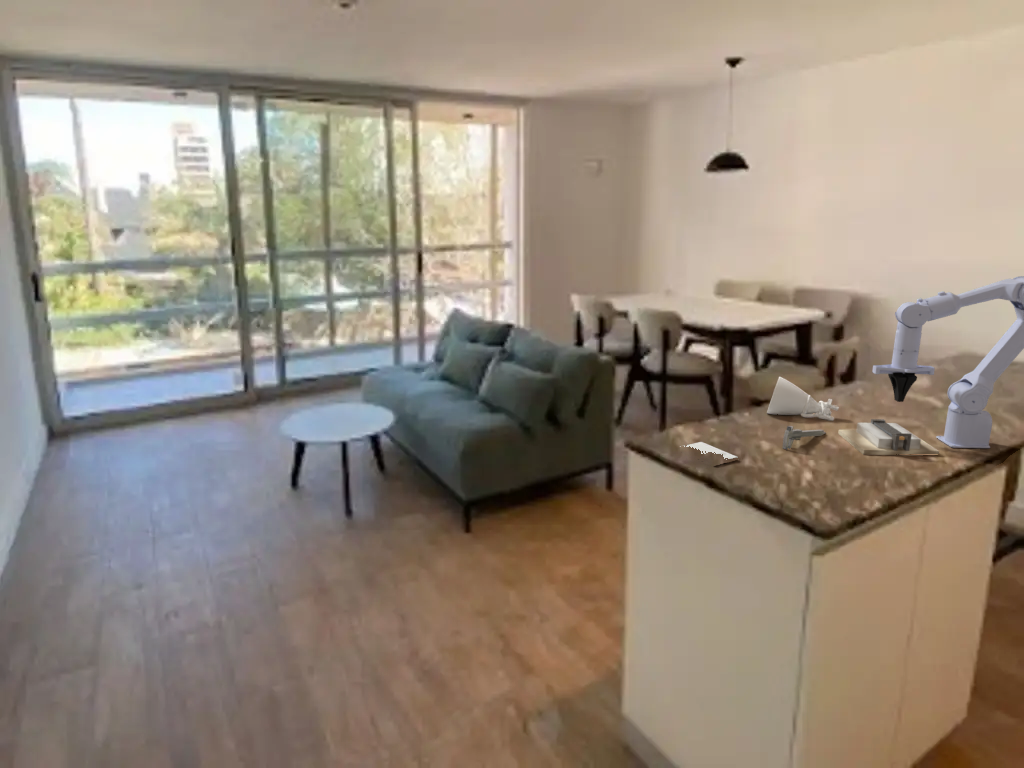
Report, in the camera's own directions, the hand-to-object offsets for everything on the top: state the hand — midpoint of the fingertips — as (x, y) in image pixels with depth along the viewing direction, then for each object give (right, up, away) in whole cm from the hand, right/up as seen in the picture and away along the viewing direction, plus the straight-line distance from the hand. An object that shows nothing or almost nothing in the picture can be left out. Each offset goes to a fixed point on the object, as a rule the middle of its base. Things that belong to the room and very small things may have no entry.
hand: (898, 400), depth 181 cm
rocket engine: (-17, -6, +22) cm, 28 cm away
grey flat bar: (-4, -8, -3) cm, 10 cm away
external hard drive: (-52, -14, -8) cm, 55 cm away
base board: (-4, -11, -1) cm, 12 cm away
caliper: (-24, -11, +2) cm, 26 cm away
